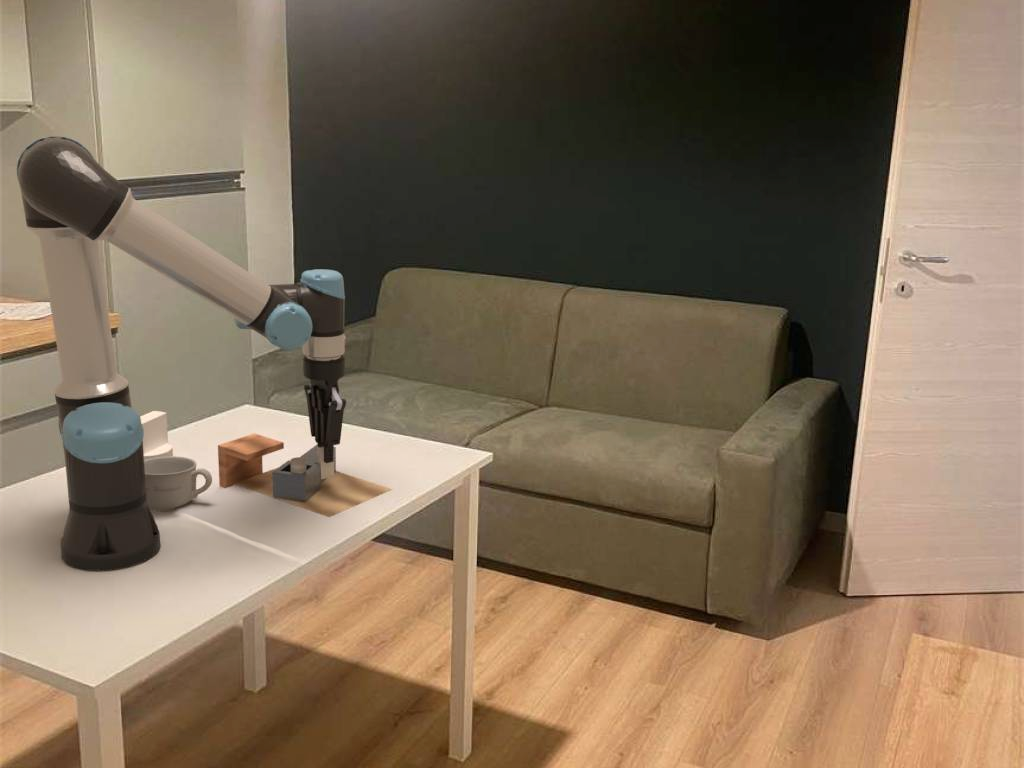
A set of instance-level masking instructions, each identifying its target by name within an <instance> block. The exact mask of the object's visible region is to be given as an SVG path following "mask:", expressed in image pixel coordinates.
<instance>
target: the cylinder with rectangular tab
mask: <svg viewBox="0 0 1024 768" xmlns="http://www.w3.org/2000/svg"><path fill="white" fill-rule="evenodd" d="M167 415H168V414H167V412H165V411H160V410H159V411H158V410H152V411H150V412H147V413H145V414H143V415H141V416H140V418H141V424H142V426H143V430H144V437H143V453H144V460H146V459H151V458H156V457H169V456H174V451H173V448H174V447H173V444H171V442H169V434H168V416H167Z"/></svg>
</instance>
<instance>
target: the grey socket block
mask: <svg viewBox="0 0 1024 768" xmlns="http://www.w3.org/2000/svg"><path fill="white" fill-rule="evenodd" d="M336 449H337V447H335V446H334V472H336V471H337V459H336V458H337V456H336V454H337V453H336V452H337V451H336ZM300 457H302V458H305V459H306V471H305V472H304V473H303V474H300V473H292V472H291V461H290V460H289V459H288V460H286V461H285V462H283V464H282V465H280V466H278V467H279V468H278V467H276V468H277V469H276V470H274V471H273V472H272V475H273V497H272V498H273V499H276V498H280V499H287V500H294V501H300V502H306V501H307V500H309V499H310V498H311V497H312V496H313V495H315V494H316V493H317V492H318V491H319V490H320V484H321V483H322V482H323V481H325V480H326V479H327V478H325V479H320V465H319V464H317V444H316V445H314V446H313V447H312V448H310V449H309V450H307V451H306V452H305V453H303V454H302V455H301V456H300Z"/></svg>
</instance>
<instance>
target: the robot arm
mask: <svg viewBox="0 0 1024 768" xmlns="http://www.w3.org/2000/svg"><path fill="white" fill-rule="evenodd" d="M16 177H17V181H18V184H19V188H20V193H21V199H22V206H23V211H24V212H23V213H24V217H25V223H26V227H27V229H28V230H30V232H32V233H34V234H35V235H37V237H38V239H39V243H40V244H39V245H40V251H41V256H42V257H41V258H42V264H43V269H44V275H45V276H44V277H45V281H46V288H47V293H48V299H49V300H48V301H49V304H50V305H49V306H50V312H51V318H52V324H53V331H54V336H55V342H56V348H57V356H58V360H59V366H60V373H61V379H62V380H61V381H60V383H59V384H58V385H57V386H56V387H55V389H54V392H53V393H54V397H55V404H56V409H57V410H56V411H57V415H58V429H59V434H60V436H61V441H62V448H63V455H64V462H65V473H66V475H65V476H66V485H67V497H68V514H67V517H66V518H67V519H66V522H65V526H64V530H63V534H62V537H61V540H60V555H61V559H62V561H63V562H64V563H65V564H67V565H68V566H71V567H72V568H76V569H80V570H86V571H87V570H88V571H109V570H110V571H111V570H118V569H119V570H120V569H122V568H123V569H124V568H128V567H132V566H135V565H137V564H141V563H143V562H145V561H147V560H149V559H151V558H152V557H154V556H156V554H158V552H159V551H160V548H161V546H162V545H161V544H162V543H161V533H160V529H159V527H158V525H157V523H156V521H155V519H154V516H153V513H152V510H151V509H149V507H148V504H147V500H146V484H145V469H144V453H143V437H144V430H143V426H142V424H141V418H140V417H141V416H140V414H139V413H138V412H137V411H136V410H135V408H133V407H132V400H131V392H130V386H129V381H128V379H126V378H125V377H124V376H122V375H121V374H119V373H118V369H117V364H116V357H115V356H116V355H115V350H114V343H113V336H112V329H111V322H110V315H109V309H108V300H107V294H106V288H105V287H106V286H105V281H104V274H103V267H102V258H101V253H100V247H99V242H102V241H106V242H109V243H110V244H112V245H113V246H114V247H117V248H118V249H120V250H122V251H123V252H125V253H127V254H128V255H130V256H131V257H133V258H134V259H136V260H138V261H140V262H141V263H143V264H144V265H146V266H148V267H149V268H151V269H153V270H155V271H156V272H157V273H160V274H161V275H163V276H164V277H166V278H167V279H169V280H171V281H173V282H174V283H176V284H178V286H181V287H182V288H184V289H186V290H187V291H189V292H190V293H191V294H194V295H196V296H197V297H199V298H200V299H203V300H204V301H206V302H207V303H209V304H210V305H212V306H214V307H216V308H217V309H219V310H221V311H222V312H224V313H225V314H227V315H228V316H230V317H232V318H233V320H234V324H235V325H236V327H237V328H238V329H240V330H252V331H255V333H258V334H259V335H261V336H262V337H264V338H266V339H267V340H268V341H269V343H270V344H271V345H273V346H275V347H277V348H279V349H282V350H286V351H293V350H297V349H299V348H301V347H302V354H303V355H304V357H303V359H302V365H303V367H302V369H303V370H302V371H303V376H304V377H305V379H308V380H310V381H309V382H310V384H309V383H308V384H305V385H304V387H303V389H304V393H305V397H306V404H307V412H308V413H307V414H308V419H309V421H308V422H309V428H310V436H311V437H312V438H314V441H315V443H316V445H317V464H319V465H320V479H325V478H330V477H334V447H335V446H337V445H340V444H341V439H342V437H341V436H342V428H343V421H344V411H345V408H346V405H347V400H346V398H341V397H340V395H339V394H340V389H339V383H338V381H339V380H340V379H342V378H343V377H345V375H346V357H345V356H344V354H345V342H346V339H347V336H346V335H345V300H346V295H345V284H344V283H345V282H344V277H343V275H342V274H341V273H340V272H339V271H337V270H333V269H321V268H320V269H311V270H305V271H303V272H302V273H301V275H300V276H301V278H300V280H299V281H300V282H295V283H288V284H287V283H286V284H285V283H283V284H282V283H281V284H278V283H277V284H267V283H266V282H264V281H263V280H261V279H259V278H258V277H257V276H255V275H253V274H252V273H250V272H249V271H247V270H246V269H244V268H243V267H241V266H239V264H236V263H235V262H233V261H231V260H230V259H228V258H227V257H226V256H224V255H222V254H221V253H219V251H216V250H214V249H213V248H211V247H210V246H208V245H207V244H205V243H204V242H202V241H200V240H199V239H198V238H197V237H194V236H193V235H191V234H190V233H189V232H187V231H185V230H184V229H182V228H180V227H179V226H177V225H175V224H174V223H173V222H171V221H170V220H168V219H167V218H164V217H163V216H161V215H160V214H159V213H157V212H156V211H155V210H152V209H150V208H149V207H148V206H146V205H144V204H143V203H141V202H140V201H138V200H137V199H135V198H134V197H133V194H132V190H131V187H129V186H127V185H126V184H124V183H123V182H121V181H120V180H118V179H117V178H115V177H114V176H113V175H111V173H109V172H108V171H107V170H106V169H104V168H103V167H102V166H101V164H100V163H99V162H98V161H97V160H96V159H95V157H94V156H93V155H92V153H91V152H90V151H89V150H88V148H87V147H85V146H84V145H83V144H82V143H81V142H79V141H77V140H76V139H72V138H70V137H67V136H54V135H51V136H45V137H41V138H39V139H36V140H34V141H32V143H30V144H29V145H27V146H26V147H25V148H24V149H23V151H22V152H21V154H20V155H19V158H18V161H17V164H16Z"/></svg>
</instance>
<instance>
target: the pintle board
mask: <svg viewBox="0 0 1024 768" xmlns="http://www.w3.org/2000/svg"><path fill="white" fill-rule="evenodd" d="M284 444H285V443H284V441H281V440H280V441H279V440H278V439H273V438H271V437H268V436H263V435H260V434H258V433H252V434H249V435H245V436H242V437H239V438H236V439H233V440H230V441H227V442H223V443H220V444H218V445H217V455H218V456H217V457H218V479H219V480H218V481H219V487H221V488H224V489H228V488H231V487H232V486H239V487H242V488H245V489H248V490H251V491H254V492H256V493H259V494H262V495H265V496H268V497H271V498H273V475H272V472H273V471H274V470H276V469H277V468H279V467H280V466H278V467H276V468H273V469H270V470H267V471H265V472H264V471H263V469H264V467H263V466H264V465H263V456H265V455H269V454H272V453H275V452H277V451H281V450H283V449H284V448H285V447H284ZM289 461H291V472H292V473H300V474H303V473H304V472H305V471H306V459H305V458H302V457H301V456H299V457H293V458H291V459H290V460H289ZM390 491H393V488H391V487H387V486H385V485H381V484H377V483H374V482H373V481H372V482H371V481H368V480H365V479H362V478H359V477H356V476H353V475H349V474H347V473H344V472H340V471H338V470H336V472H334V477H330V478H327V479H326V480H325V481H323V482H322V483H321V484H320V490H319V491H318V492H317V493H316V494H315V495H313V496H312V497H311V498H310V499H309V500H307V501H306V502H300V501H294V500H287V499H280V498H275V499H277V500H280V501H282V502H285V503H288V504H290V505H294V506H296V507H299V508H302V509H305V510H308V511H311V512H314V513H316V514H319V515H321V516H324V517H327V518H330V517H331V518H332V517H333V516H336V515H337V514H340V513H342V512H344V511H347V510H349V509H351V508H354V507H356V506H358V505H360V504H362V503H365V502H367V501H369V500H371V499H374V498H377V497H379V496H381V495H383V494H386V493H388V492H390Z"/></svg>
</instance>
